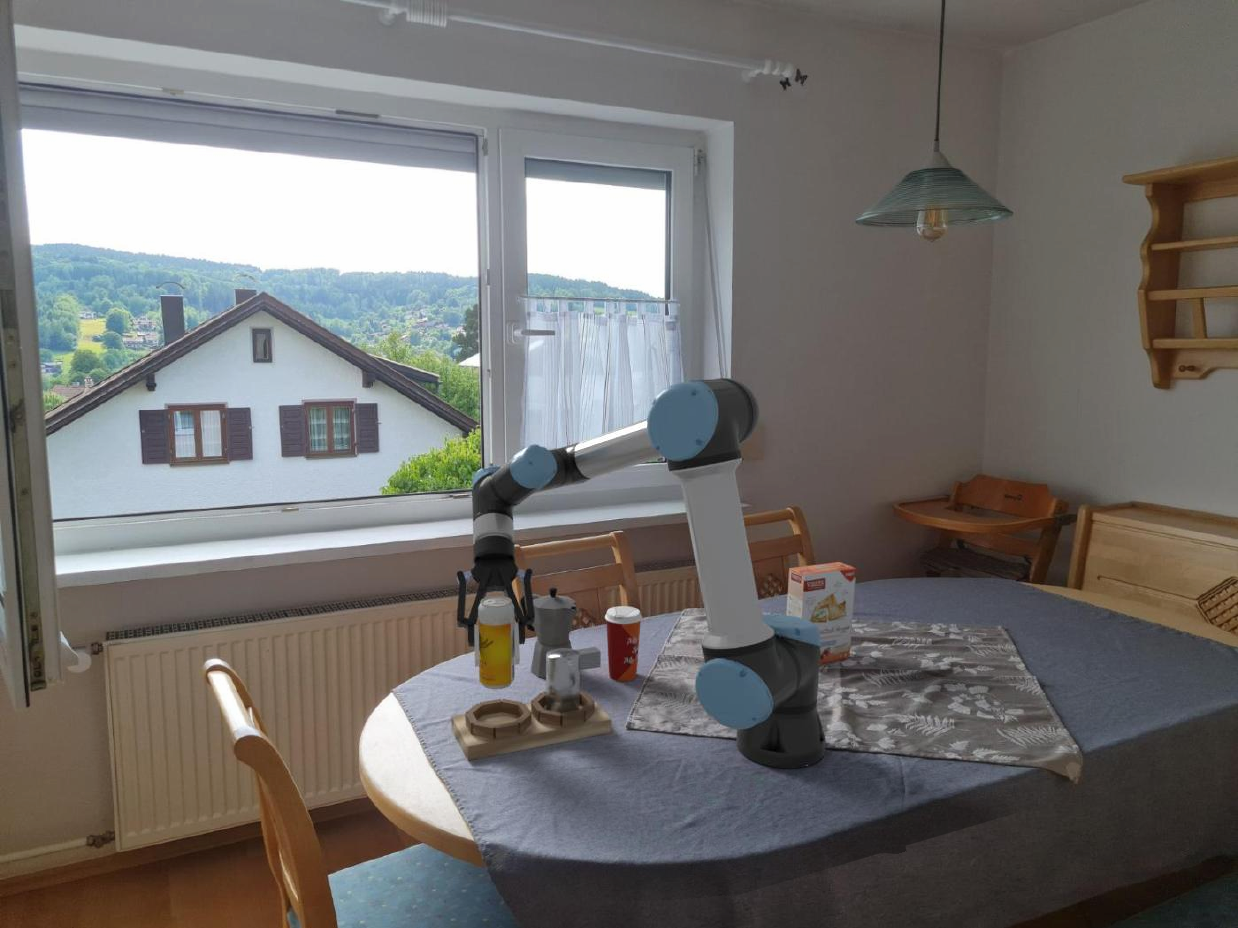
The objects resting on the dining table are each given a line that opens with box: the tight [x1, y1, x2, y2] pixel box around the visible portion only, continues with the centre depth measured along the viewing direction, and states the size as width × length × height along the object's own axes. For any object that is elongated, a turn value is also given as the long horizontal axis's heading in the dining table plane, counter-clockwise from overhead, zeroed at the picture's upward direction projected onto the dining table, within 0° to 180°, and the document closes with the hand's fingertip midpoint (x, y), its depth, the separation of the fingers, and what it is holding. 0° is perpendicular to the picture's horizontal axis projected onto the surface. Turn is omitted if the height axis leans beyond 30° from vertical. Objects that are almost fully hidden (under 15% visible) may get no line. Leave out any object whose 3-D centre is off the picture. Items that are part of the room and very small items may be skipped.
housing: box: [450, 690, 612, 761], centre depth 154 cm, size 12×26×4 cm, turn 114°
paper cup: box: [604, 605, 643, 682], centre depth 177 cm, size 8×8×14 cm
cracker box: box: [785, 561, 857, 665], centre depth 187 cm, size 14×6×21 cm, turn 115°
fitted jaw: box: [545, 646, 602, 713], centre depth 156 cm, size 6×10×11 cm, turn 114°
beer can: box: [477, 595, 515, 690], centre depth 149 cm, size 6×6×15 cm
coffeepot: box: [519, 587, 580, 679], centre depth 180 cm, size 15×9×18 cm, turn 55°
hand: (497, 662), depth 146 cm, fingers closed on beer can, 6 cm apart
